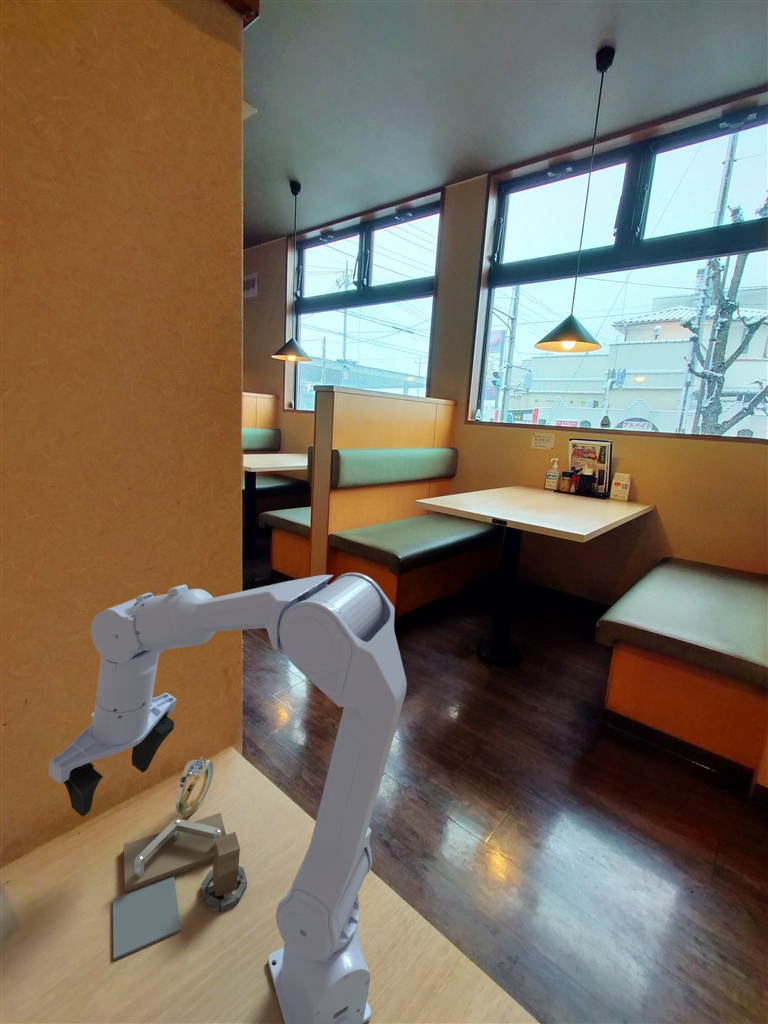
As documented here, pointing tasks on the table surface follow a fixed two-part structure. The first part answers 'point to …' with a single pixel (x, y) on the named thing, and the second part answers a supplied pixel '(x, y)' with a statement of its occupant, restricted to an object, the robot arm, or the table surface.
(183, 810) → the ring
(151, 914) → the mat
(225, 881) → the ring wand
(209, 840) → the base
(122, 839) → the table surface
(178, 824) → the bent wire
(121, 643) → the robot arm
